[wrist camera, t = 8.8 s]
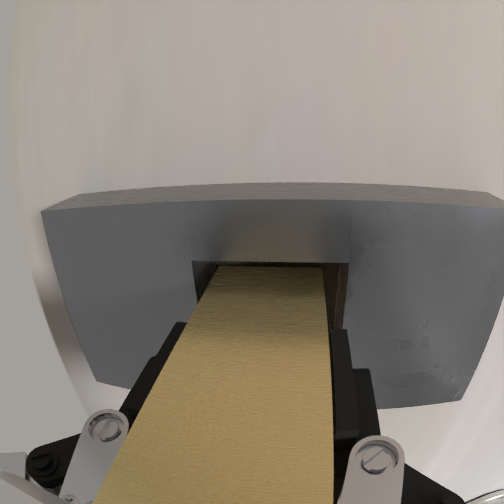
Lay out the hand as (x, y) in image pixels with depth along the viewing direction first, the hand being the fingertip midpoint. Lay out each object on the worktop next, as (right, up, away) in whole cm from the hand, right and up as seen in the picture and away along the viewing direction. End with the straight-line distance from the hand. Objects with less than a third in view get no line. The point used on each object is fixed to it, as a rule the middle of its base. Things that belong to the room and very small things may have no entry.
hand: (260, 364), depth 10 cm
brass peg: (0, +1, +3) cm, 3 cm away
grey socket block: (+1, +2, +5) cm, 5 cm away
